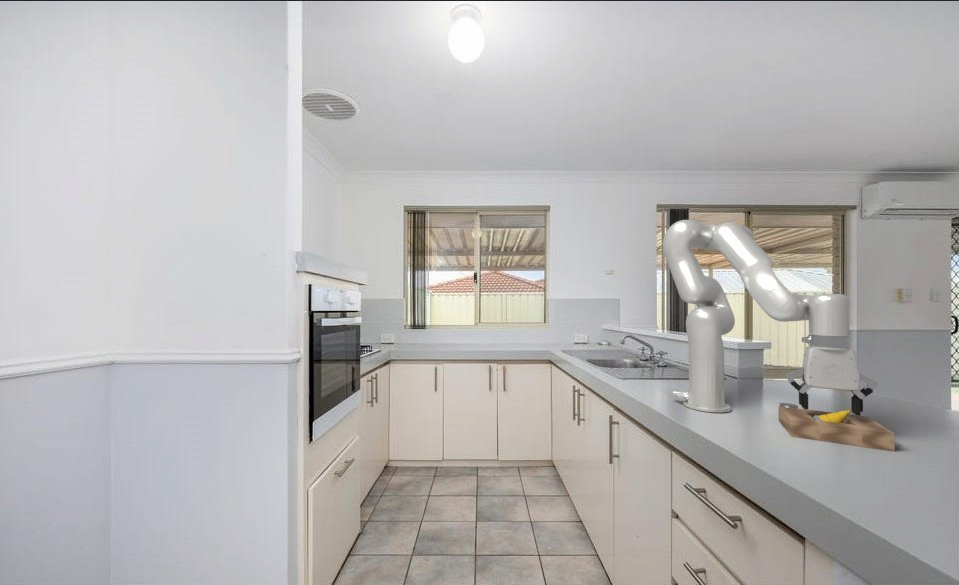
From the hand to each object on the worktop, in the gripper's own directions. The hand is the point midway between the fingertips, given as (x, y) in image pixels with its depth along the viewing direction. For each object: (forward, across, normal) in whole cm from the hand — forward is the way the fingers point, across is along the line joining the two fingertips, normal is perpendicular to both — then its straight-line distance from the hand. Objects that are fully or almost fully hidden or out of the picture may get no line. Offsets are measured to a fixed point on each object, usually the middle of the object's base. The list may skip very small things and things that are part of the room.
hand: (829, 411), depth 93 cm
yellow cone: (+6, 0, 0) cm, 6 cm away
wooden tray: (+6, 0, 0) cm, 6 cm away
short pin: (+6, -6, +11) cm, 14 cm away
